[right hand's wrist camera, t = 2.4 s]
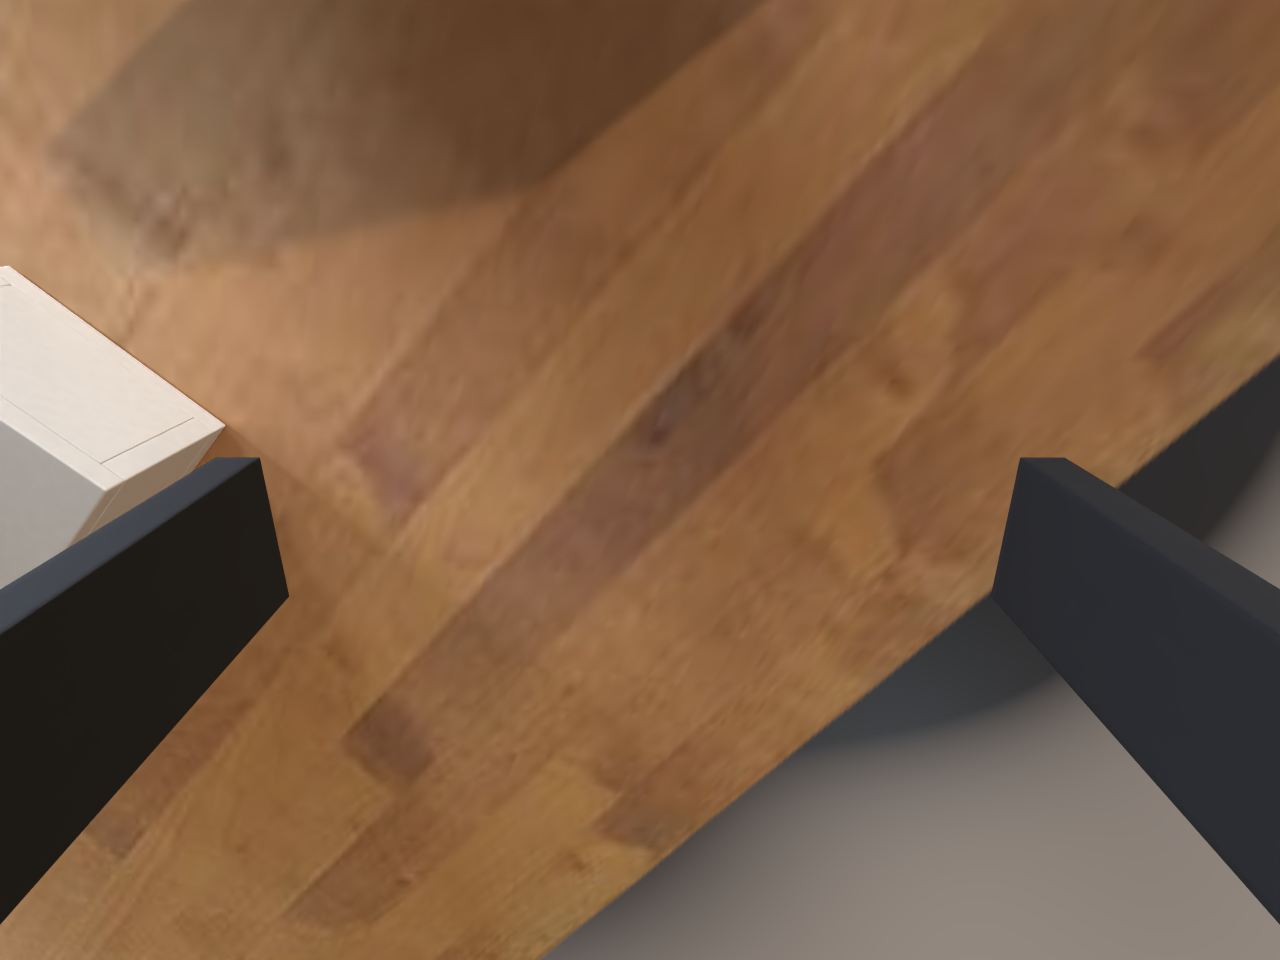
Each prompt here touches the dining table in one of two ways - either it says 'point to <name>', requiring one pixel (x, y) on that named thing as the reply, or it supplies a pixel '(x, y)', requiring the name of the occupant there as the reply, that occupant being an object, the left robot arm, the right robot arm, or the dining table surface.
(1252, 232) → the dining table surface
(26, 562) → the cabinet
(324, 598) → the dining table surface
